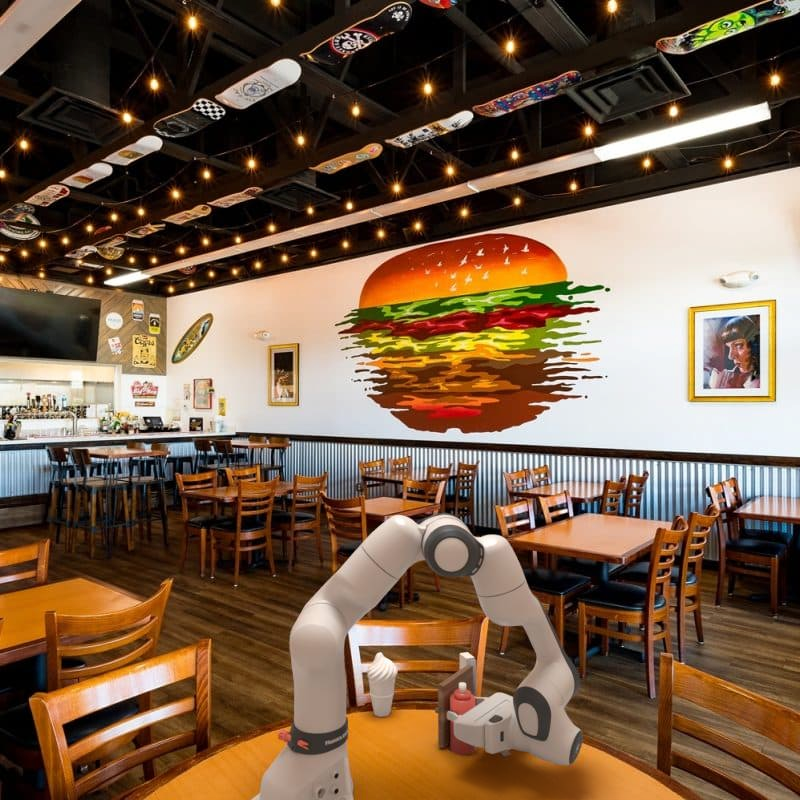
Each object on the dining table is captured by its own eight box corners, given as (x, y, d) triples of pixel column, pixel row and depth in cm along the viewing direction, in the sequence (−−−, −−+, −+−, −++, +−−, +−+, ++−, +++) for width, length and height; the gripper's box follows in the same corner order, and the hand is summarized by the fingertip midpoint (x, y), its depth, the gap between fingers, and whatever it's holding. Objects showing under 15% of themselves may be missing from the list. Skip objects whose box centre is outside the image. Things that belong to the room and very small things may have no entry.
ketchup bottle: (476, 755, 142) (476, 689, 143) (451, 755, 142) (451, 689, 143) (473, 741, 148) (473, 678, 149) (448, 742, 148) (448, 678, 149)
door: (432, 743, 146) (432, 683, 147) (462, 719, 158) (462, 663, 159) (443, 747, 144) (443, 686, 145) (473, 722, 157) (473, 665, 157)
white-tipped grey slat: (502, 756, 142) (502, 687, 142) (459, 713, 163) (459, 653, 163) (511, 754, 142) (511, 685, 143) (467, 712, 163) (467, 652, 164)
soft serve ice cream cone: (403, 711, 164) (403, 651, 165) (386, 724, 157) (386, 661, 158) (377, 703, 169) (377, 645, 169) (360, 715, 162) (360, 654, 162)
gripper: (531, 694, 146) (482, 679, 154) (487, 727, 130) (435, 708, 139) (532, 721, 145) (482, 704, 154) (487, 757, 130) (435, 736, 138)
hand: (459, 706), depth 146 cm, fingers open, 8 cm apart
